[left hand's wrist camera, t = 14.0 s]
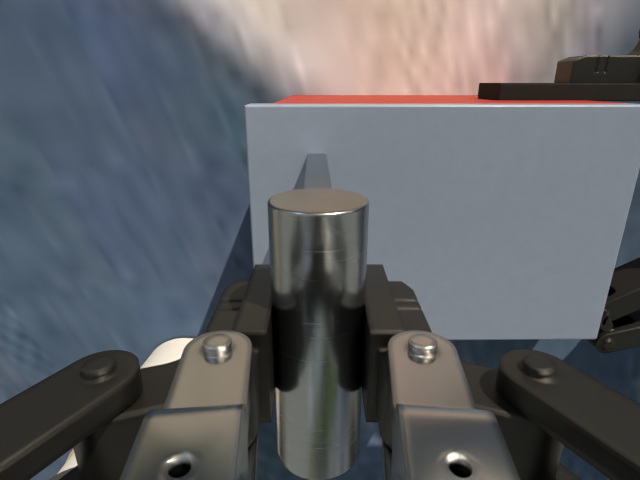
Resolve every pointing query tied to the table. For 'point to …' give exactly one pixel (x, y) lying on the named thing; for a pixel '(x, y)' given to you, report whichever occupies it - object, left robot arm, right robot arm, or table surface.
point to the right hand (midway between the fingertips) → (474, 198)
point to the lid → (427, 236)
